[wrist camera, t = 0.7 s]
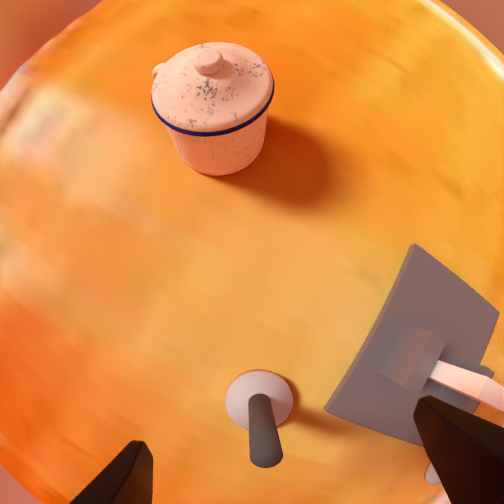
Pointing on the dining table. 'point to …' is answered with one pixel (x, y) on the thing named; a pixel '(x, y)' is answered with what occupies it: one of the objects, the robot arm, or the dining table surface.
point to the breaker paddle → (469, 384)
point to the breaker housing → (415, 349)
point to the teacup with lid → (214, 105)
